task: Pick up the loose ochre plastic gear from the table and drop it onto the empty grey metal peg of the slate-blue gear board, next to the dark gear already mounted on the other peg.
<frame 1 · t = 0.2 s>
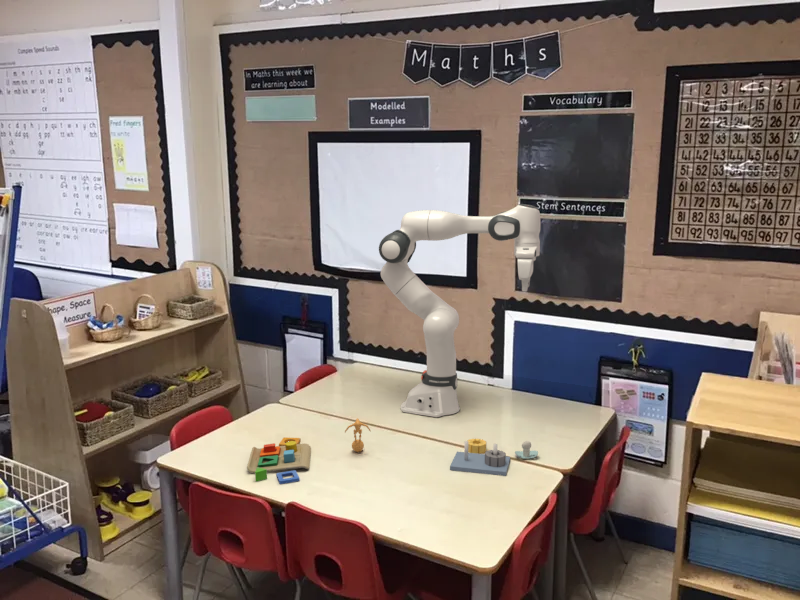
hand: (525, 289, 252), 48 cm above the table, tool pointing down, fingers open, 8 cm apart
gear board: (480, 465, 219), on the table
shape sorter: (280, 461, 224), on the table
pacifier: (525, 458, 225), on the table
figurine: (358, 453, 230), on the table
ochre gear: (476, 450, 231), on the table
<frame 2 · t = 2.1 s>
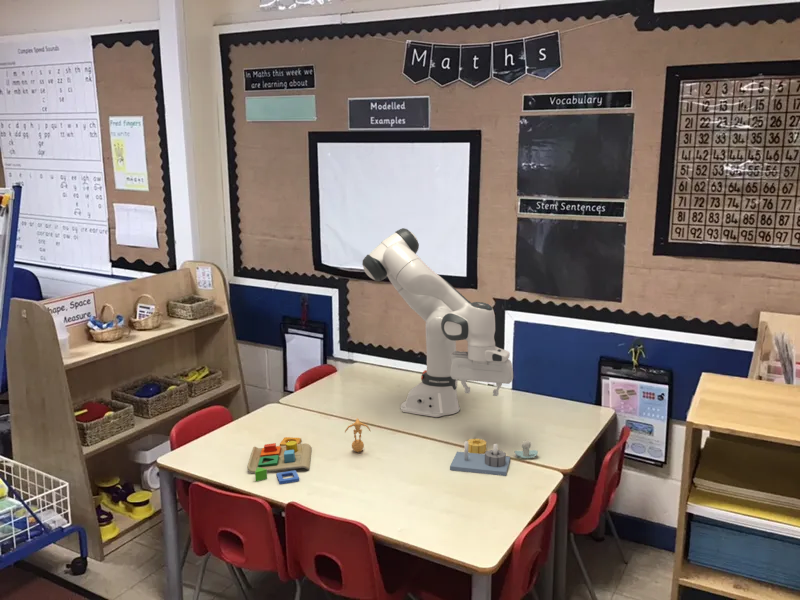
hand: (481, 394, 230), 18 cm above the table, tool pointing down, fingers open, 8 cm apart
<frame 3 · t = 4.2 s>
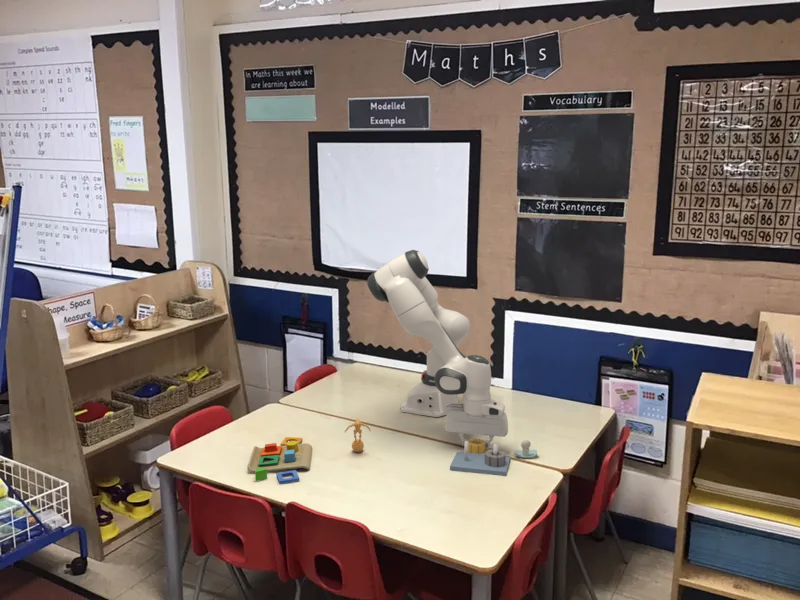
hand: (476, 446, 230), 2 cm above the table, tool pointing down, fingers closed on ochre gear, 6 cm apart
ochre gear: (476, 450, 231), on the table, touching gripper
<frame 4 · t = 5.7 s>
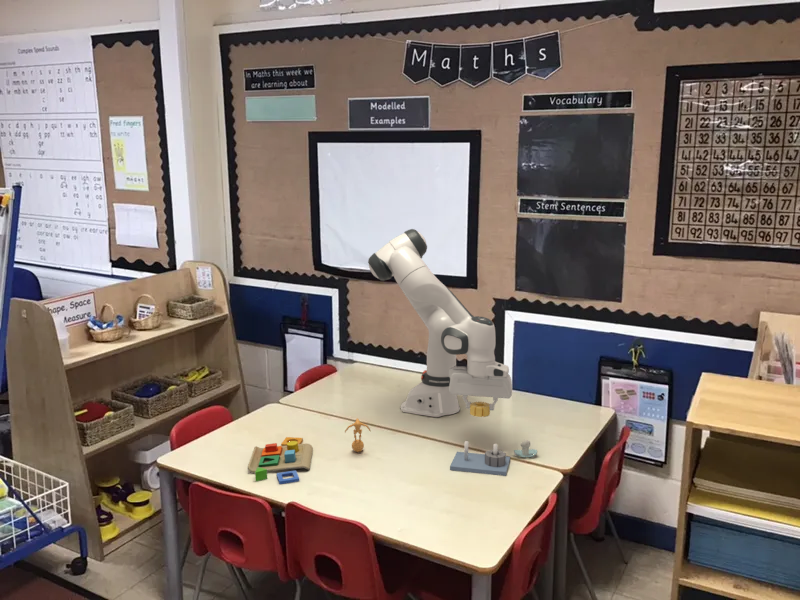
hand: (480, 408, 228), 14 cm above the table, tool pointing down, fingers closed on ochre gear, 6 cm apart
ochre gear: (479, 413, 229), point 13 cm above the table, touching gripper
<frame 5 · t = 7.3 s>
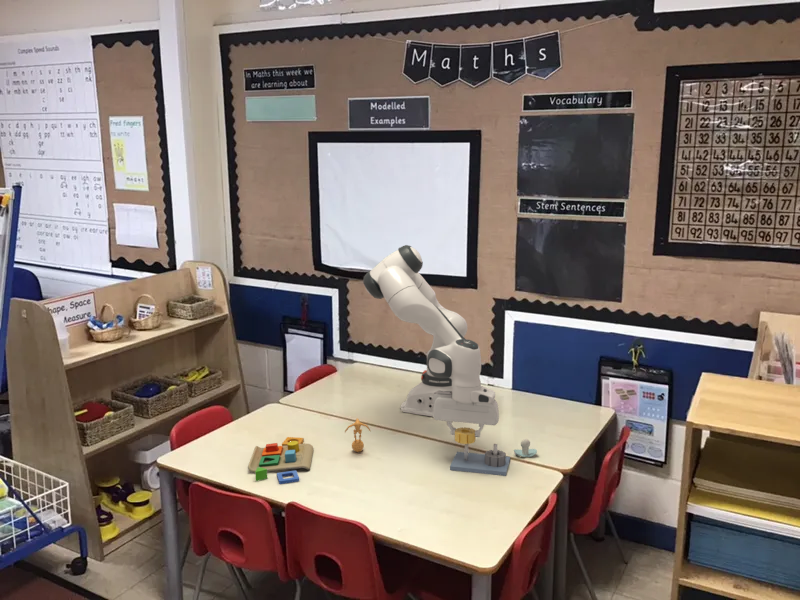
hand: (465, 435, 219), 9 cm above the table, tool pointing down, fingers closed on ochre gear, 6 cm apart
ochre gear: (465, 440, 219), point 8 cm above the table, touching gripper
when the fingers open (6 cm above the table, at t = 8.6 s): ochre gear drops 3 cm, resting on gear board.
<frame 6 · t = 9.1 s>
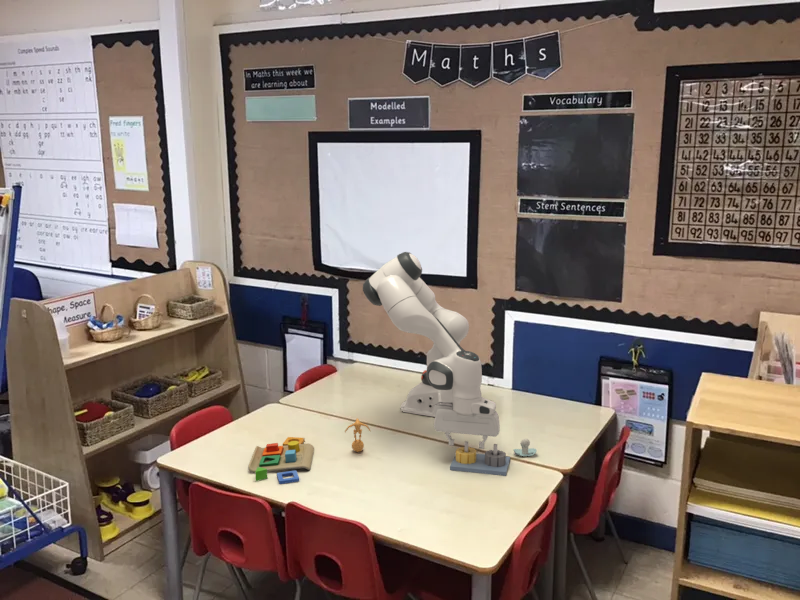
hand: (466, 446, 220), 6 cm above the table, tool pointing down, fingers open, 8 cm apart
ochre gear: (466, 459, 220), point 1 cm above the table, touching gear board
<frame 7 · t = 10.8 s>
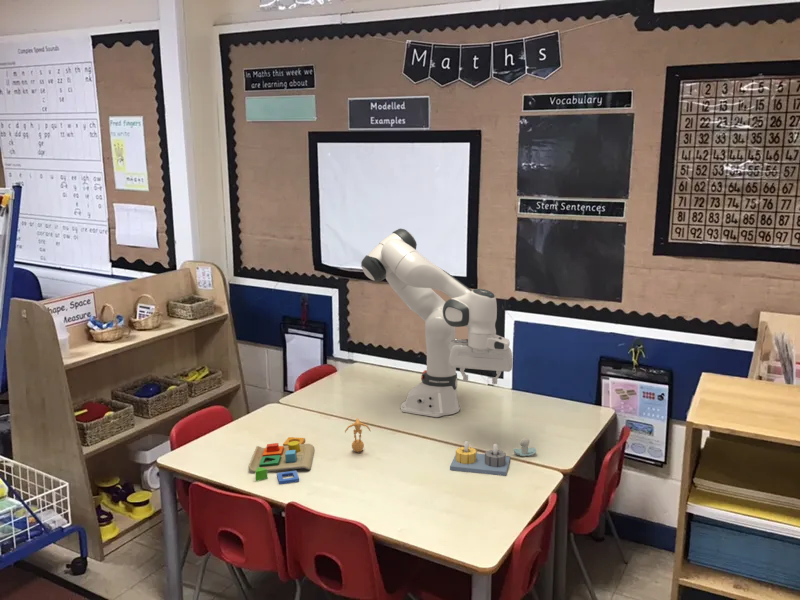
hand: (480, 382, 227), 23 cm above the table, tool pointing down, fingers open, 8 cm apart
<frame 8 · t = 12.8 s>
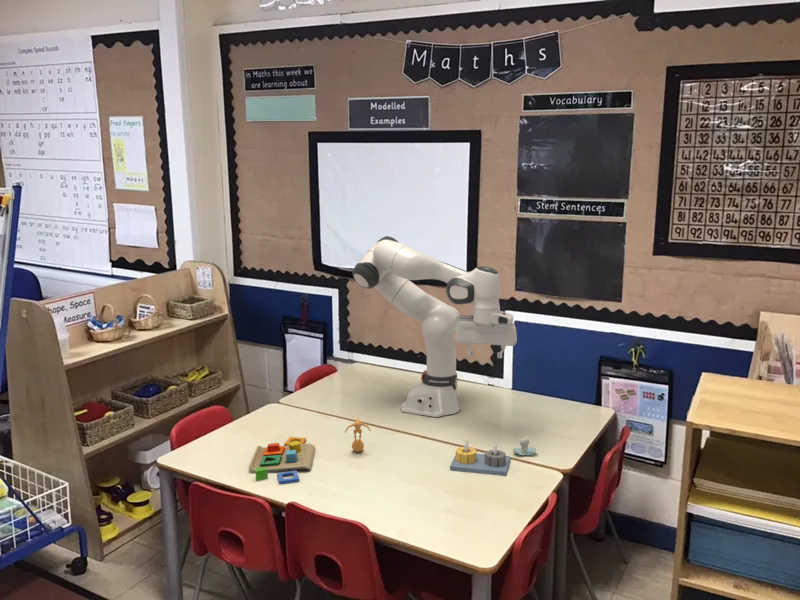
hand: (485, 357, 235), 29 cm above the table, tool pointing down, fingers open, 8 cm apart
at the end: ochre gear 0.1 cm from the target spot on the gear board, point 1.2 cm above the gear board's base; the gripper is holding nothing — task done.
